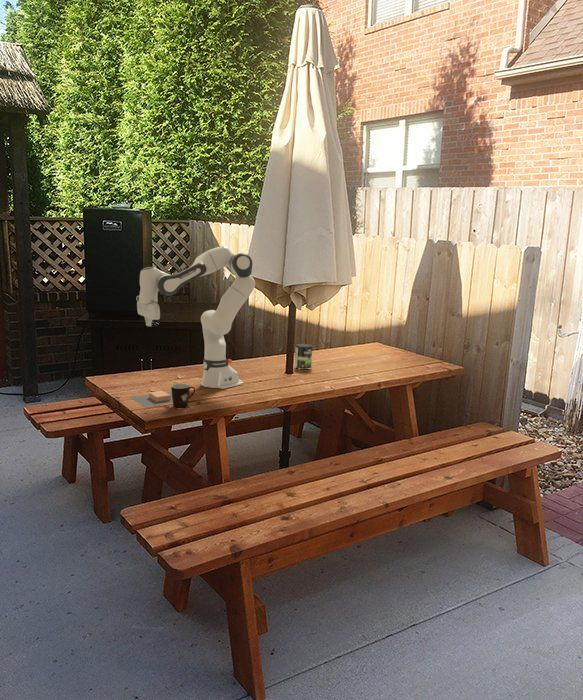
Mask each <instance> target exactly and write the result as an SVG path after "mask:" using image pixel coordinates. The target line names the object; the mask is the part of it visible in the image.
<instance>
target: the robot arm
mask: <svg viewBox="0 0 583 700" xmlns="http://www.w3.org/2000/svg"><path fill="white" fill-rule="evenodd" d="M223 268H226V270H228V271H229V272H230V273H231V274H232V275H233V276H235V277H234V281H233V282H232V284H231V285H230V286H228V289H227V290H226V291H225V292H224V294H223V295H222V296H221V298H220V302H219V304H218V306H217V308H216V310H215V309H209V310H206V311H204V312H203V313H202V315H201V316H200V323H201V326H202V327H201V328H202V333H203V341H204V358H203V374H202V380H201V383H200V385H201V386H202V387H204V388H211V389H222V390H224V389H228V388H232V387H236V386H237V387H238V386H242V385H244V382H243V381H242V380H241V379H240V377H239V373H238V371H237V370H236V369H234V368H233V367H232V366H231V365H230V364H232V363H233V361H232V360H233V359H229V358H226V354H227V351H226V350H227V349H226V348H227V343H226V339H225V336H224V335H227V334H229V332H230V331H231V330H232V324H233V322H234V320H235V318H236V316H237V313H238V312H239V310H240V309H241V308H242V306H243V305H244V303H246V301H247V300H248V298H249V297H250V296H251V294H252V293H253V291H254V289H255V287H256V281H255V279H254V277H253V276H252V270H253V259H252V257H251V256H250V255H249V254H247V253H245V252H244V253H243V252H240V253H237V254H234V253H232V251H231V249H230V248H229V247H228V246H226V245H220V246H217V247H213V248H211V249H208V250H206V251H205V252H203V253H201V254H199V255H198V256H197V257H196V258H195V259H194V262H193V263H192V265H190V266H189V267H188V268H186V269H184V270H182V271H180V272H178V273H177V274H169V273H166V272H164V271H163V270H160V269H158V268H157V267H156V266H147V267H143V268H142V269H140V273H139V287H140V290H139V295H137V296H136V298H135V299H136V301H137V302H136V308H137V309H136V310H137V314H138V316H139V315H140V316H142V317H144V321H145V325H146V327H152V323H153V320H154V321H155V320H160V318H161V310H160V309H161V308H160V305H159V303H158V301H159V300H158V298H159V297H158V295H159V292H160V293H161V294H162V295H164V296H166V297H171V296H174V295H175V294H177V292H178V291H179V290H180V289H181V288H182V287H183V286H184V285H187V284H188V283H190V282H192V281H194V280H195V279H198V278H200V277H205V276H206V275H210V274H212V273H215V272H217V271H219V270H221V269H223Z"/></svg>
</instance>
